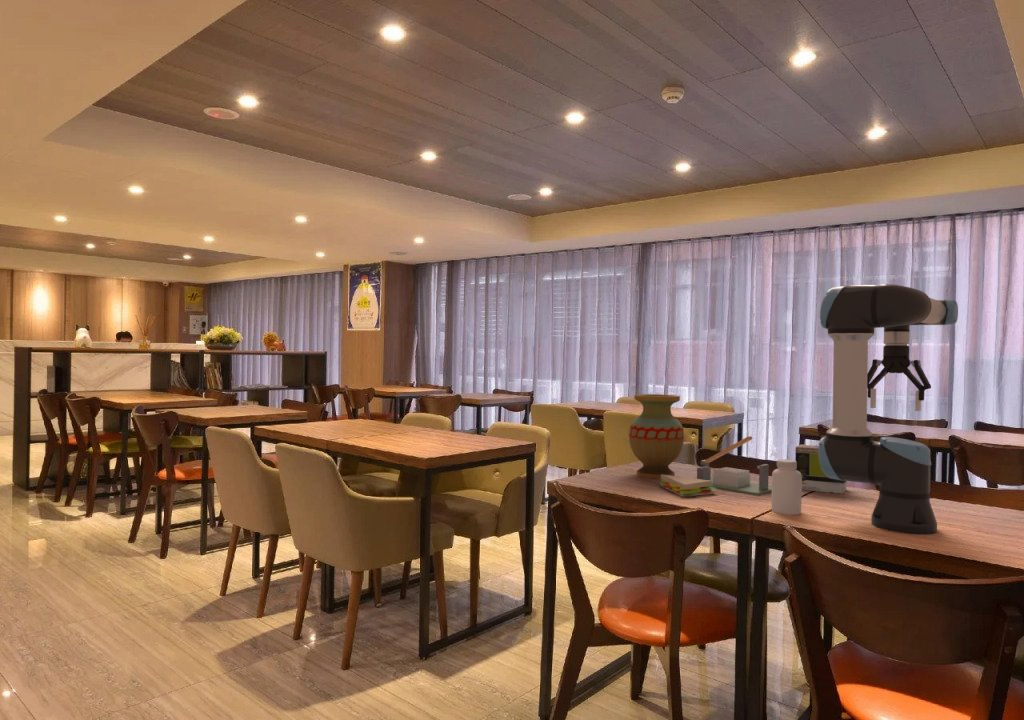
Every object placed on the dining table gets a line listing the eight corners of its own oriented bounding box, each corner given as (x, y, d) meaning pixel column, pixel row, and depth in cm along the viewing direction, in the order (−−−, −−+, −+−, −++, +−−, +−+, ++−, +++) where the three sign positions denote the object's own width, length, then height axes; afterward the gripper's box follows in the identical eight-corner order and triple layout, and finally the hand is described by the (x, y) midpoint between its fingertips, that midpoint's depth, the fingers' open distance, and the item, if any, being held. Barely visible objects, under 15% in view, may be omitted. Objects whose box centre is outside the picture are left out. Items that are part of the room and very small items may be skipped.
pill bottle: (766, 512, 196) (767, 460, 196) (777, 508, 202) (778, 457, 202) (794, 517, 190) (796, 463, 190) (805, 513, 196) (806, 460, 196)
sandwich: (686, 487, 235) (686, 472, 235) (722, 498, 217) (723, 483, 217) (647, 489, 230) (647, 474, 230) (681, 501, 211) (681, 485, 211)
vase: (621, 472, 260) (623, 393, 260) (672, 472, 263) (673, 394, 262) (637, 482, 241) (638, 396, 241) (691, 481, 243) (693, 397, 243)
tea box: (846, 490, 233) (847, 446, 232) (843, 495, 224) (844, 449, 224) (799, 485, 241) (800, 443, 241) (794, 489, 232) (795, 446, 232)
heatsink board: (681, 484, 238) (681, 457, 238) (705, 479, 249) (705, 453, 249) (757, 497, 218) (758, 468, 218) (780, 490, 229) (780, 463, 229)
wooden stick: (700, 467, 240) (697, 462, 241) (705, 466, 242) (702, 461, 243) (749, 441, 227) (745, 435, 228) (754, 440, 229) (751, 434, 230)
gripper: (942, 345, 219) (941, 411, 219) (861, 345, 238) (859, 406, 238) (935, 344, 214) (934, 412, 214) (852, 344, 233) (851, 407, 233)
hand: (894, 409), depth 226 cm, fingers open, 13 cm apart
